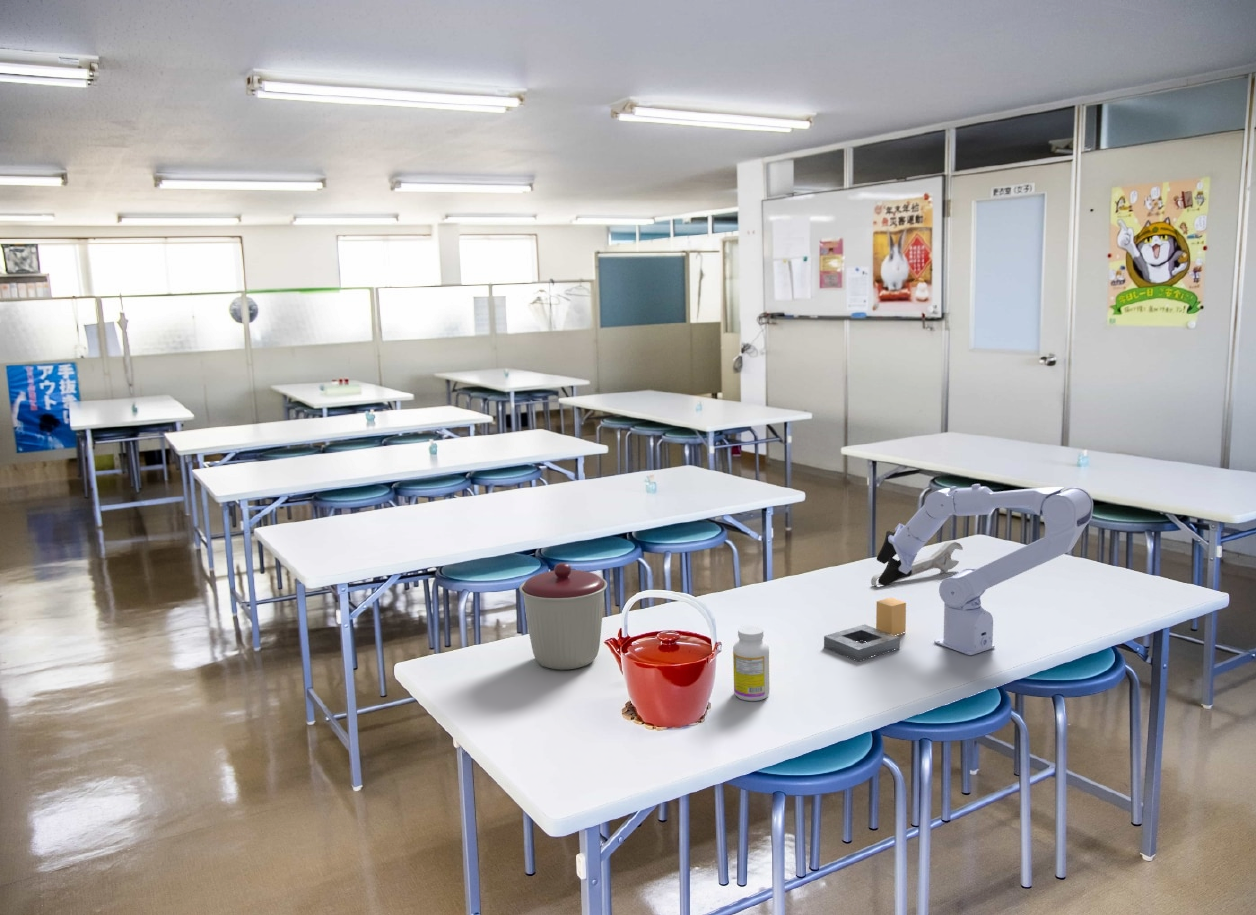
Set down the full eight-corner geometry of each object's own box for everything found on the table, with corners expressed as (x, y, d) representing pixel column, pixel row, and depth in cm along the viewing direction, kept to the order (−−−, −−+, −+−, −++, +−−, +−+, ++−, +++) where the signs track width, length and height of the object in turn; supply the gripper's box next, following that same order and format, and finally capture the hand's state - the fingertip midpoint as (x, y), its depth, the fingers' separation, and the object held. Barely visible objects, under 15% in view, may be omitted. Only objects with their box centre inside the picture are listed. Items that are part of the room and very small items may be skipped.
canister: (593, 640, 211) (589, 547, 207) (622, 668, 194) (619, 568, 191) (513, 653, 205) (508, 558, 201) (536, 684, 188) (531, 580, 184)
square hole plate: (899, 648, 200) (899, 637, 200) (858, 661, 194) (858, 649, 194) (864, 635, 209) (864, 624, 208) (824, 647, 203) (824, 636, 202)
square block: (905, 633, 210) (906, 602, 208) (891, 637, 207) (891, 606, 206) (890, 627, 213) (890, 597, 212) (876, 631, 211) (876, 601, 210)
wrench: (872, 597, 244) (959, 566, 256) (876, 599, 243) (964, 568, 255) (869, 567, 242) (957, 538, 255) (874, 569, 241) (962, 539, 253)
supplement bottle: (746, 685, 184) (745, 621, 182) (775, 693, 180) (775, 628, 178) (726, 696, 179) (725, 631, 177) (757, 705, 175) (756, 638, 173)
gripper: (899, 503, 211) (864, 544, 218) (904, 544, 199) (867, 586, 206) (926, 517, 211) (891, 557, 219) (933, 559, 200) (894, 599, 207)
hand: (881, 572), depth 213 cm, fingers open, 7 cm apart
